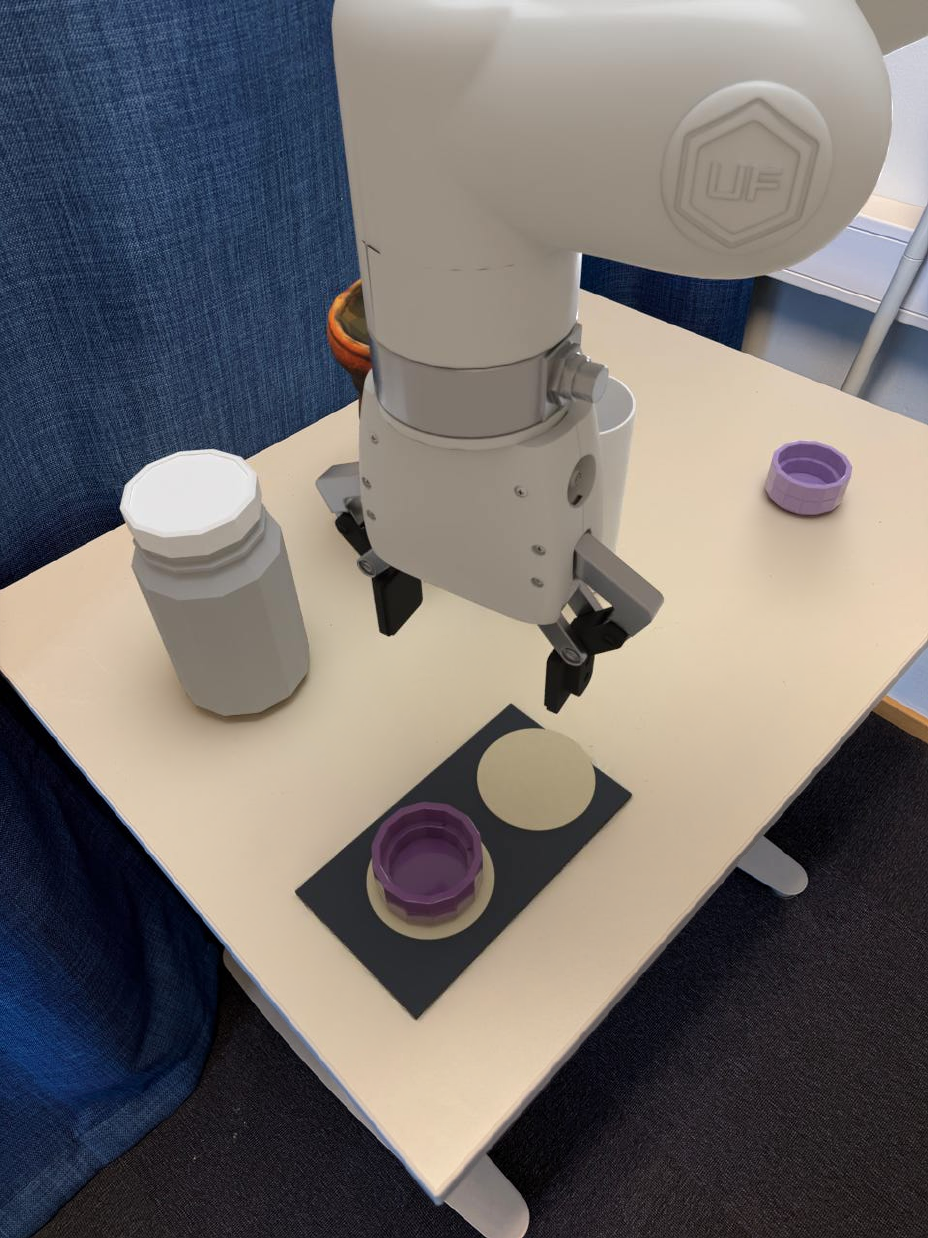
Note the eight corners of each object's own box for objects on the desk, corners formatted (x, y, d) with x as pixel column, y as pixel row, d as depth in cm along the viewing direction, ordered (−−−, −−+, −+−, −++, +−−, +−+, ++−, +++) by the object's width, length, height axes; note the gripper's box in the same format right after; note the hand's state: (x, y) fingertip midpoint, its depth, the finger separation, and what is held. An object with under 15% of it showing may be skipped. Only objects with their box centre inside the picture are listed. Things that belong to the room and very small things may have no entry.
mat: (515, 702, 66) (515, 698, 66) (636, 792, 61) (637, 788, 61) (295, 893, 57) (294, 890, 56) (416, 1020, 51) (415, 1017, 51)
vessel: (403, 448, 87) (384, 244, 72) (542, 487, 82) (553, 278, 67) (326, 543, 78) (286, 334, 63) (476, 591, 74) (472, 379, 59)
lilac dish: (801, 461, 84) (811, 431, 81) (857, 501, 80) (869, 471, 77) (747, 486, 82) (756, 455, 79) (802, 528, 78) (812, 498, 75)
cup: (589, 520, 79) (606, 359, 67) (630, 584, 74) (656, 421, 62) (501, 542, 77) (503, 381, 66) (536, 609, 72) (545, 447, 60)
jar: (174, 645, 71) (99, 461, 57) (296, 610, 73) (251, 425, 59) (194, 742, 64) (116, 562, 51) (327, 701, 67) (285, 518, 53)
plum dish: (448, 811, 60) (446, 784, 57) (503, 894, 56) (503, 868, 53) (358, 859, 58) (352, 833, 55) (409, 949, 54) (404, 925, 51)
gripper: (733, 371, 32) (667, 670, 45) (345, 261, 39) (383, 551, 51) (647, 489, 28) (601, 783, 41) (228, 345, 35) (301, 637, 47)
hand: (480, 653), depth 46 cm, fingers open, 9 cm apart
